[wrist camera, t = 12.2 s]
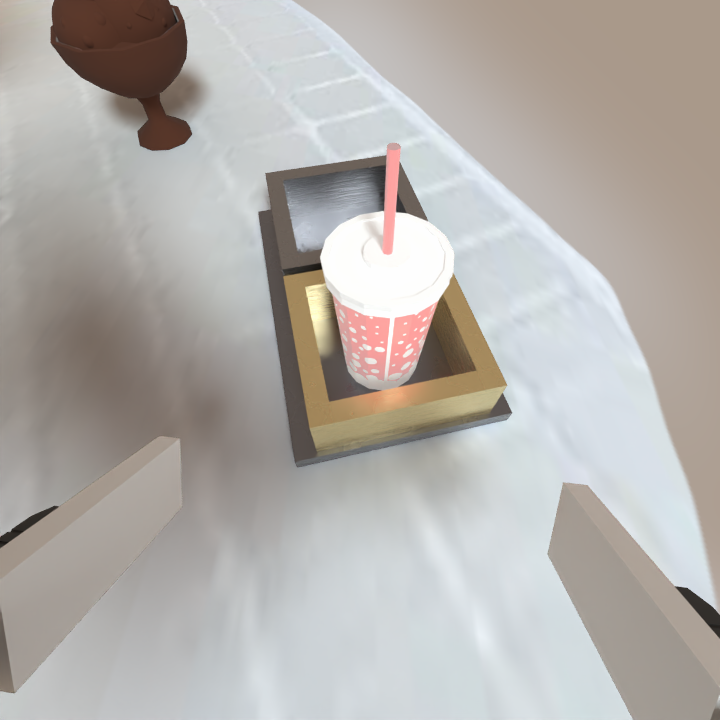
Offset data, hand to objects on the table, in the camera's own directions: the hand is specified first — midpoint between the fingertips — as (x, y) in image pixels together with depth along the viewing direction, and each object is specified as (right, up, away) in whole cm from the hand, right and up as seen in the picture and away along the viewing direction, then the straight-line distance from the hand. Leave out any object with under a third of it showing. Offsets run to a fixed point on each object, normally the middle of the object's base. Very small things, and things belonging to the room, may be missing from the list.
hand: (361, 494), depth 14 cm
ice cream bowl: (-21, +28, +28) cm, 45 cm away
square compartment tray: (0, +9, +16) cm, 18 cm away
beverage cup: (+1, +5, +12) cm, 13 cm away
